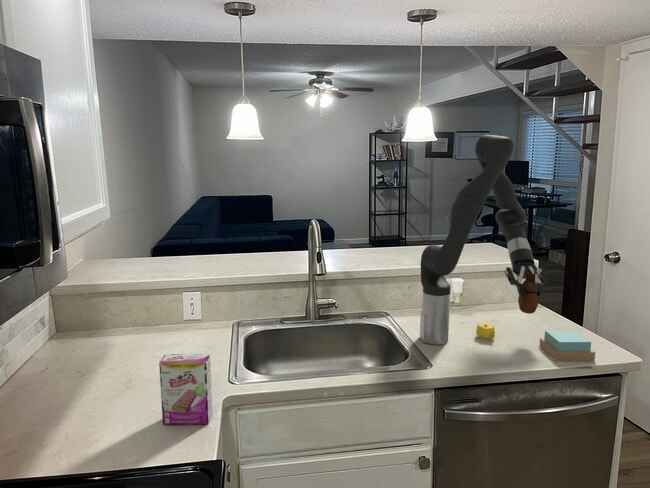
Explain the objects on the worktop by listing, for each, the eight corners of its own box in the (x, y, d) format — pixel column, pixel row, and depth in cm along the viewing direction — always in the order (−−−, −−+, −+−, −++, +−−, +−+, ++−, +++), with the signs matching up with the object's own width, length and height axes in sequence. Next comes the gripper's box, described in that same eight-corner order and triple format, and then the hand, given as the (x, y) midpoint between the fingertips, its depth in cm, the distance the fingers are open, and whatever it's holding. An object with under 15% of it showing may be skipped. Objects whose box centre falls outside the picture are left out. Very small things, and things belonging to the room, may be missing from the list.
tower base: (556, 361, 152) (557, 343, 151) (539, 346, 164) (540, 329, 163) (594, 361, 152) (596, 343, 151) (574, 346, 164) (576, 329, 163)
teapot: (501, 340, 169) (502, 326, 168) (488, 343, 167) (489, 328, 166) (485, 332, 176) (486, 319, 175) (472, 335, 174) (473, 321, 173)
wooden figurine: (539, 315, 165) (543, 272, 162) (522, 315, 165) (526, 272, 162) (531, 309, 171) (535, 267, 168) (515, 308, 171) (518, 267, 169)
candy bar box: (162, 426, 116) (157, 362, 113) (168, 415, 121) (164, 353, 118) (209, 425, 116) (206, 361, 113) (213, 414, 121) (210, 352, 118)
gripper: (503, 247, 171) (514, 289, 162) (544, 247, 171) (556, 289, 162) (497, 258, 177) (506, 300, 168) (536, 259, 178) (548, 300, 168)
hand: (531, 294), depth 165 cm, fingers closed on wooden figurine, 5 cm apart
